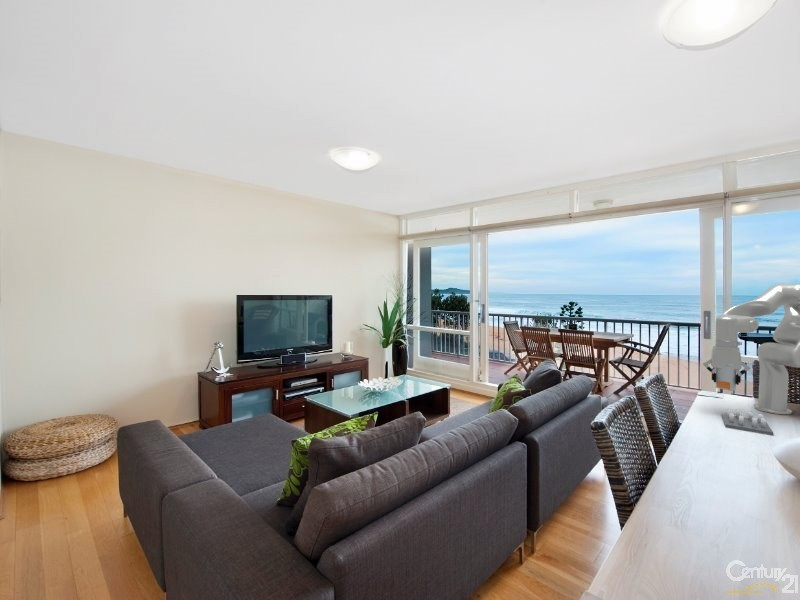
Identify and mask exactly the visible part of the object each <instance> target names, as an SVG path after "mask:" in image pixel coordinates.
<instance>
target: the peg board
mask: <svg viewBox="0 0 800 600" xmlns="http://www.w3.org/2000/svg"><path fill="white" fill-rule="evenodd" d="M747 413H748V414H747V415H748V416H747V417H744V416H743V415H741V410H740V409H735V414H734V413H733V409H727V414H725V413H721V418H722V421H723V423H724V426H725V428H728V429H732V430H733V429H734V430H739V431H746V432H751V433H756V434H762V435H768V436H774V431H773V430H772V428H771V427H770V425H769V424H768V423H767V419H766V418H764V414H761V413H758V414H757V418H756V417H754V412H753V411H750V410H749V411H748V412H747Z"/></svg>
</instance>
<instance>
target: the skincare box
mask: <svg viewBox="0 0 800 600" xmlns="http://www.w3.org/2000/svg"><path fill="white" fill-rule="evenodd" d="M715 373H716V382H715V388H716V389H720V390H725V391H729V392H732V391H736V390H737V384H736V375H737V373H736V371H735V370H734V369H733V364H726V366H725V368H724V369H717V370H716V372H715Z"/></svg>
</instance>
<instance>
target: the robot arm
mask: <svg viewBox="0 0 800 600" xmlns="http://www.w3.org/2000/svg"><path fill="white" fill-rule="evenodd" d="M782 306H783V309H784V315H783V317H782V319H781V320H780V321H779V324H778V325H777V326H776V328H775V330H773V331H774V332H773V334H772V339H773V340H774V341H775V342H763V343H762V344H760V345H759V346H758V348H757V352H756V353H757V358H758V362H759V363H758V364H759V376H758V377H759V380H758V401H757V403H754V404H753V408H754V409H756V410H759V411H761V412H765V413H771V414H776V415H777V414H778V415H791V414H792V413H793V412H792V410H791V409H789V408H788V396H789V395H788V393H789V390H788V389H789V372H788V369H787V368H786V367H793V368H800V283H777V284H774V285H771V286H770V287H769V288H768V289H766V290H765V291H764V292H763V293H761V294H759V295H758V296H757V297H756V298H755V299H753V300H749V301H747V302H744V303H740V304H737V305H735V306H733V307H730V308H729V309H728V310H726V311H725V312H723V313H722V314H721V315H720V316H717V317H716V318H715V339H714V340H715V343H714V345H713V346H712V349H711V358H710V359H709V360H706V361H705V362H703V363H702V365H703V366H704V367H705V369H706V370H708V371H709V372H710V373H711V381H713V383H716V370H717V369H724V368H725V366H726V364H733V369H734V370H735V371H736V386H737V385H740V384H741V381H742V380H741V379H742V378H741V377H742V376H743V375H744V374H746V373H747V372H749V370H751V366H749V365H747V364H746V363H744V362H743V361H742V354H741V349H740V346H743V342H740V341H738V335H739V333H746V334H750V333H754V332H755V331H757V330H758V328H759V327H760V326H759V325H760V323H759V321H758V320H757V319H756V317H762V316H763V317H764V316H768V315H771V314H773V313H775V312H776V311H777V310H778V309H780V308H782ZM709 365H711V367H710V366H709ZM785 366H786V367H785ZM742 367H743V369H742ZM741 369H742V370H741Z"/></svg>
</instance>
